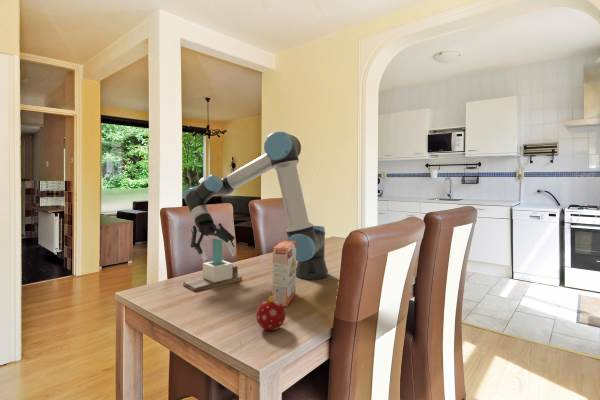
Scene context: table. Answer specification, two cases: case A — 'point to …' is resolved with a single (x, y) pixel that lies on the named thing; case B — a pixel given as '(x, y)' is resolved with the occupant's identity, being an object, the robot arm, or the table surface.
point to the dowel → (217, 252)
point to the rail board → (205, 284)
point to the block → (217, 271)
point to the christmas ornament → (270, 314)
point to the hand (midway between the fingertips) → (220, 256)
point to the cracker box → (284, 272)
